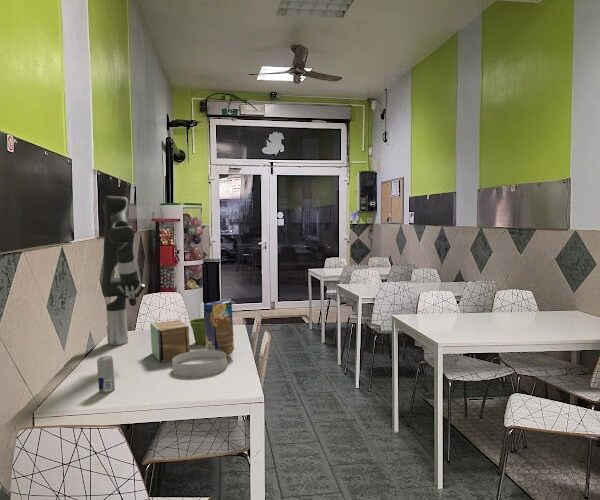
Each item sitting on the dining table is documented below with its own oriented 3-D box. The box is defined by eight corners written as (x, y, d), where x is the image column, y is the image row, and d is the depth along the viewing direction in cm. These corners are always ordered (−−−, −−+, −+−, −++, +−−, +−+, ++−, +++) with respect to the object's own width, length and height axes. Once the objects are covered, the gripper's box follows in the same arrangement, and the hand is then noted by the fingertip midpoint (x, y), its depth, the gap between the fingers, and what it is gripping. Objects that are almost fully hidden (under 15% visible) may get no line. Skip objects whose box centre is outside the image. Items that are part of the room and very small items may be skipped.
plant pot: (212, 338, 260) (211, 316, 259) (216, 343, 248) (215, 320, 248) (189, 341, 256) (187, 319, 255) (191, 346, 245) (190, 323, 244)
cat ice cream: (236, 357, 222) (234, 316, 221) (218, 359, 219) (216, 318, 218) (232, 352, 230) (230, 313, 229) (215, 354, 228) (213, 315, 227)
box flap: (162, 361, 218) (160, 329, 218) (159, 362, 218) (157, 330, 217) (154, 352, 236) (152, 322, 235) (151, 352, 235) (150, 322, 234)
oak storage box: (155, 353, 235) (153, 323, 234) (181, 349, 240) (179, 319, 239) (162, 362, 219) (160, 330, 218) (190, 357, 224) (188, 326, 223)
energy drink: (101, 388, 187) (99, 356, 186) (116, 387, 187) (114, 355, 186) (97, 393, 181) (94, 360, 181) (112, 392, 182) (110, 359, 181)
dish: (180, 380, 193) (179, 368, 193) (166, 367, 213) (165, 355, 212) (235, 370, 203) (234, 358, 203) (217, 358, 223) (216, 347, 223)
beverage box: (234, 348, 238) (231, 301, 236) (215, 353, 230) (212, 305, 228) (224, 346, 242) (222, 300, 241) (206, 351, 234) (203, 304, 233)
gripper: (110, 274, 220) (116, 310, 226) (141, 272, 221) (147, 307, 227) (114, 267, 227) (120, 302, 233) (144, 265, 228) (149, 300, 234)
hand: (133, 305), depth 230 cm, fingers closed
